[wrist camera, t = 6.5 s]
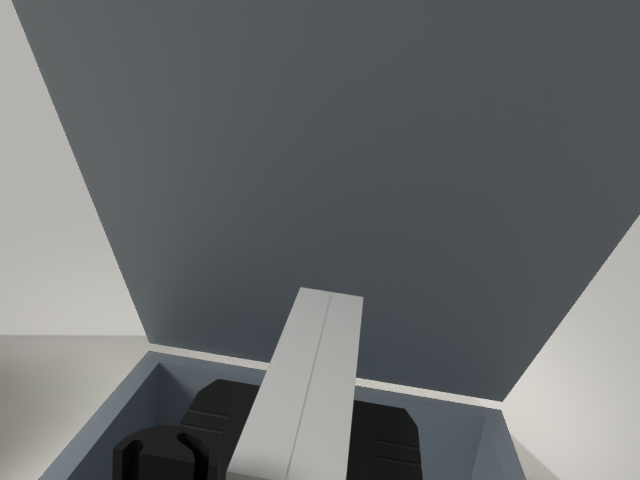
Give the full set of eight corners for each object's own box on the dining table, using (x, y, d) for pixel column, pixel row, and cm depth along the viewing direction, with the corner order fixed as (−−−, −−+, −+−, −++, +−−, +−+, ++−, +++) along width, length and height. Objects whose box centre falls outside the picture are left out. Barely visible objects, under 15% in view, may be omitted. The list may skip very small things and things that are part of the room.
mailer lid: (149, 343, 26) (155, 329, 26) (502, 401, 25) (501, 387, 25) (-127, -343, 9) (-99, -349, 9) (978, -248, 8) (950, -260, 8)
